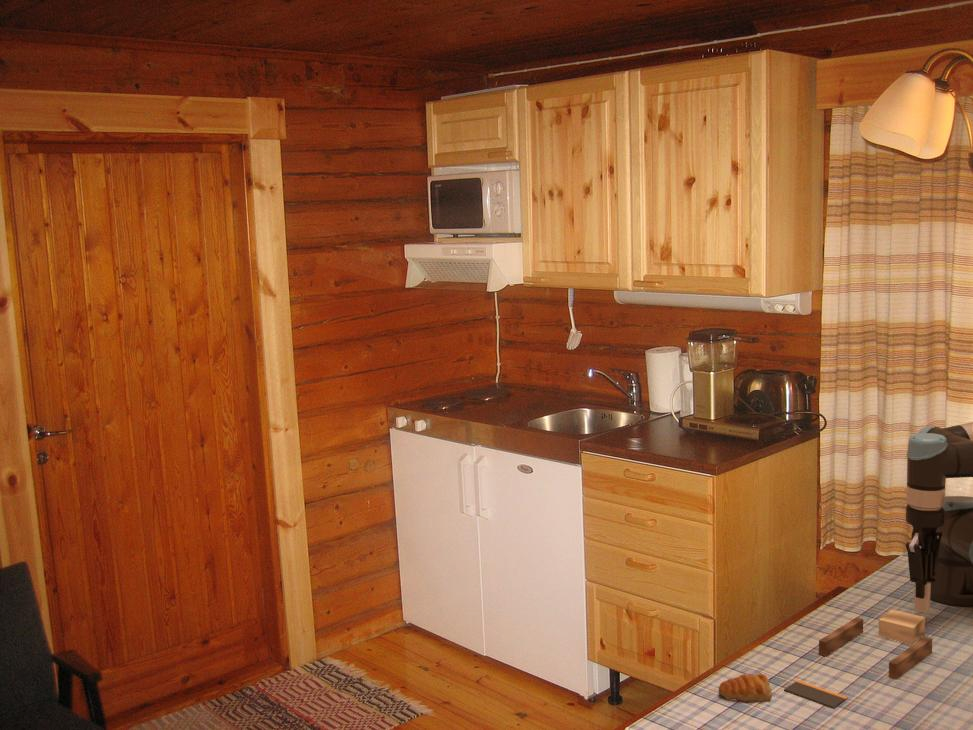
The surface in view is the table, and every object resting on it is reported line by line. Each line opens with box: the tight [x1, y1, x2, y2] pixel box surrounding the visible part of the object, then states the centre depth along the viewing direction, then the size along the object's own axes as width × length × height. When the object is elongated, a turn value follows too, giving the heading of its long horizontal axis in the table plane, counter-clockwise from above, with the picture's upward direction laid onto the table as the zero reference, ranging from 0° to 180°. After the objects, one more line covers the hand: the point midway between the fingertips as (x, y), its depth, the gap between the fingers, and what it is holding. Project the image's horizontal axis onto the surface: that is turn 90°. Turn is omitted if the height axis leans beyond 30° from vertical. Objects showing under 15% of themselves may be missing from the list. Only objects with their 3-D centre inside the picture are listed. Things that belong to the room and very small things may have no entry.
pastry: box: [718, 672, 773, 702], centre depth 182 cm, size 9×7×4 cm
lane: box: [818, 616, 933, 680], centre depth 197 cm, size 16×16×3 cm
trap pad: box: [783, 679, 848, 709], centre depth 181 cm, size 5×10×1 cm, turn 43°
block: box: [878, 609, 926, 646], centre depth 205 cm, size 7×7×4 cm
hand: (922, 610), depth 211 cm, fingers closed
